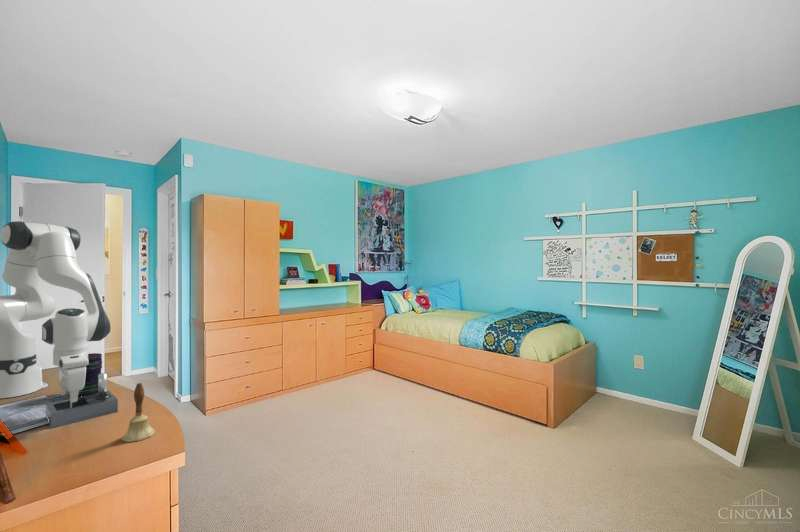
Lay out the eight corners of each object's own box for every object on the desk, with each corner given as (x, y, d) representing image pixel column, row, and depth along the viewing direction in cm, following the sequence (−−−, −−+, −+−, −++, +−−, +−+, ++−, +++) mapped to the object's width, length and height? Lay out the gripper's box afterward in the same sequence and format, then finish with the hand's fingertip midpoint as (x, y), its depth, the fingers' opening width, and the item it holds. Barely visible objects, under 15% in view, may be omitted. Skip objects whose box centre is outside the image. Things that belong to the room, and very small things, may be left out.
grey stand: (51, 428, 116) (51, 388, 115) (45, 417, 123) (45, 379, 123) (117, 411, 129) (117, 375, 129) (108, 402, 136) (108, 368, 136)
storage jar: (79, 399, 139) (80, 360, 139) (63, 396, 142) (63, 358, 142) (108, 391, 148) (108, 354, 148) (91, 388, 151) (91, 352, 151)
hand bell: (118, 436, 111) (118, 384, 111) (150, 426, 118) (150, 377, 117) (126, 445, 106) (126, 390, 106) (159, 435, 112) (159, 383, 112)
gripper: (53, 353, 128) (53, 393, 128) (63, 365, 115) (63, 408, 115) (77, 350, 133) (76, 388, 133) (89, 360, 119) (89, 403, 120)
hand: (70, 397), depth 124 cm, fingers open, 8 cm apart
